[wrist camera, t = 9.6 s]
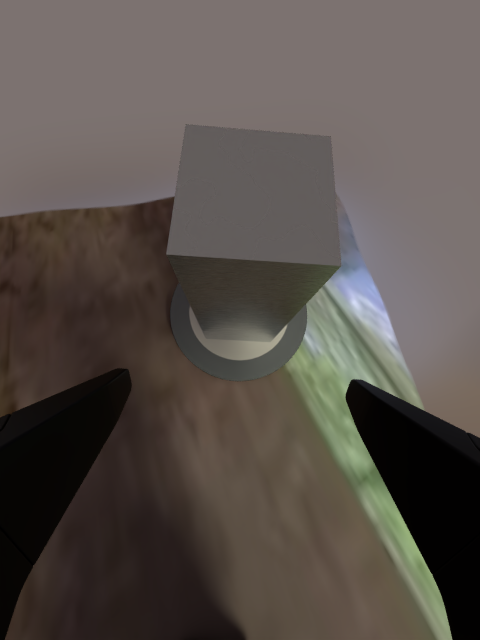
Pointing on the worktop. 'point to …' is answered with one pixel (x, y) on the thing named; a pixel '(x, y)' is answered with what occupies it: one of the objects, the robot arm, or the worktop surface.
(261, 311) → the block
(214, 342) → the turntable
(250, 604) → the worktop surface
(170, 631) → the worktop surface
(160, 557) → the worktop surface
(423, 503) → the robot arm
